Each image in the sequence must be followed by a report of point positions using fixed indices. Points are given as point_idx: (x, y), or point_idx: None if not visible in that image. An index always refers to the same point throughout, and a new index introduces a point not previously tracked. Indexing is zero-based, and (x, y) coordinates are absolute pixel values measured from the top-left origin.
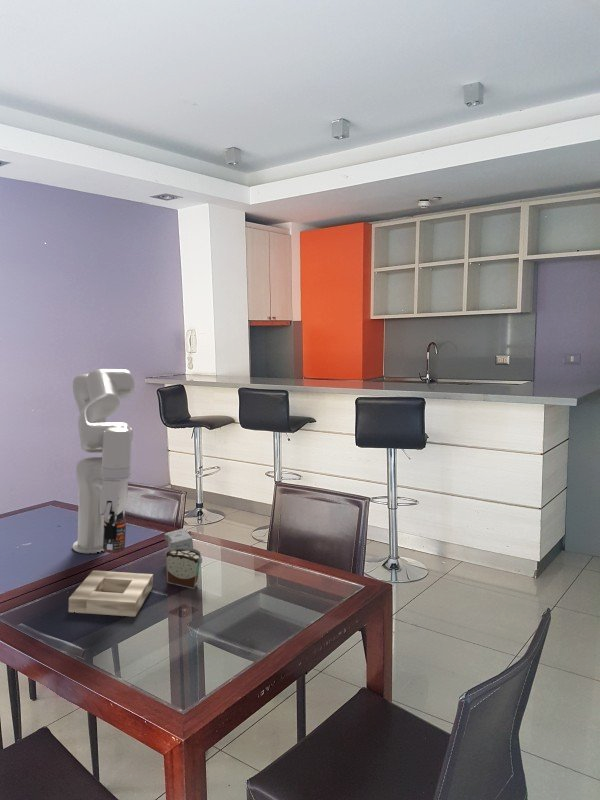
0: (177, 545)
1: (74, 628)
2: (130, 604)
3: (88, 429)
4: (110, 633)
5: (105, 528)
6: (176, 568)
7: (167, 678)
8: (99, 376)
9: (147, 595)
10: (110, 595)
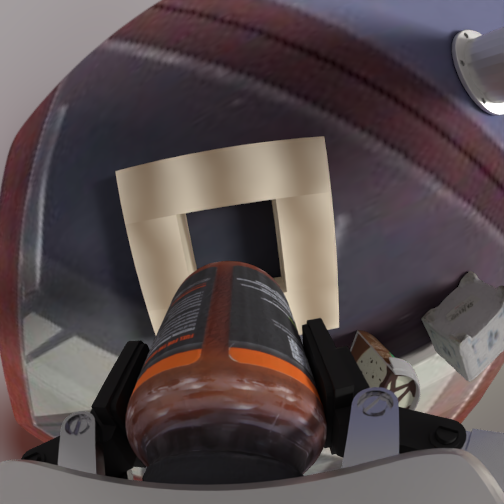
0: (455, 351)
1: (77, 229)
2: None
3: None
4: (92, 310)
5: (106, 391)
6: (364, 375)
7: (57, 411)
8: None
9: None
10: (169, 277)
